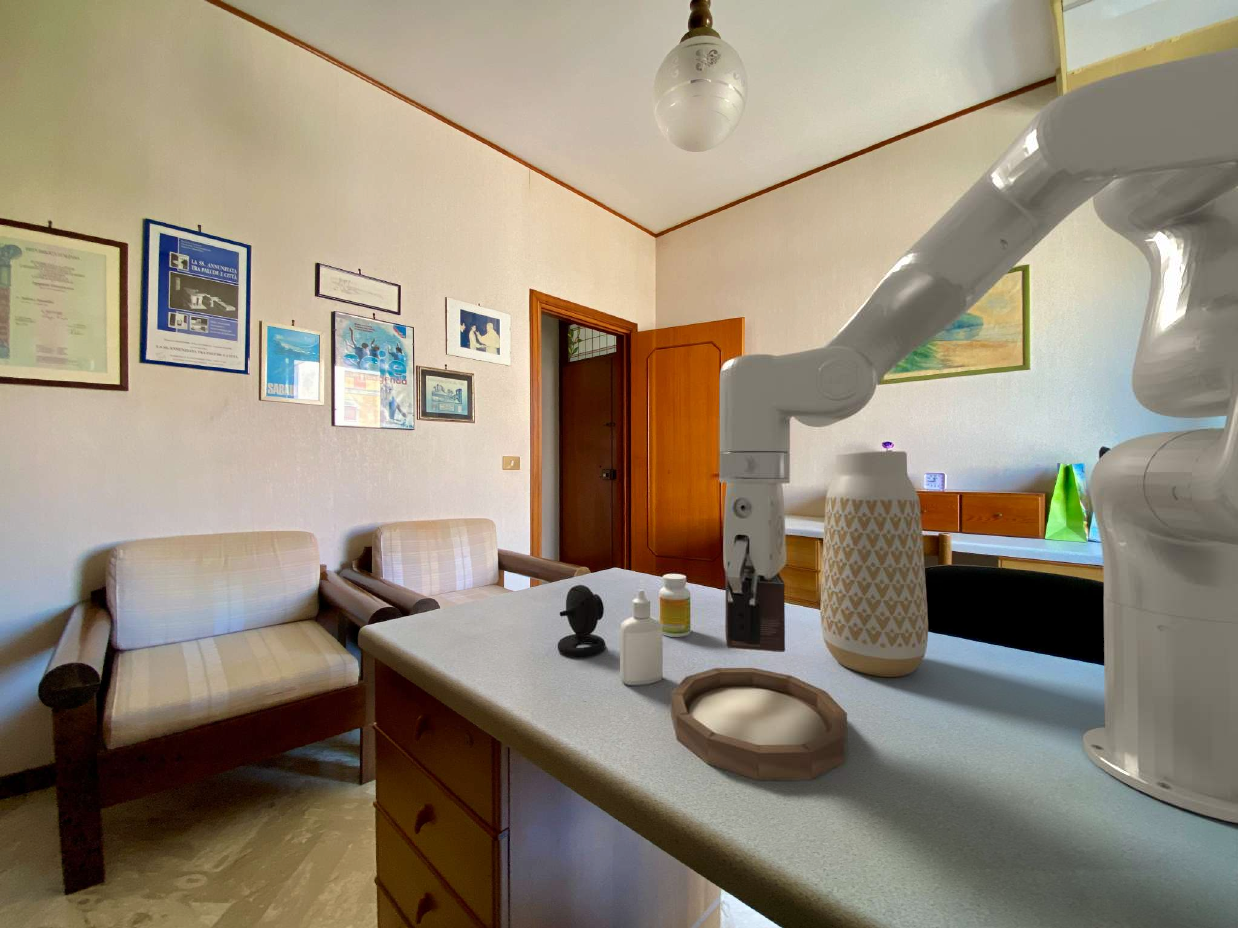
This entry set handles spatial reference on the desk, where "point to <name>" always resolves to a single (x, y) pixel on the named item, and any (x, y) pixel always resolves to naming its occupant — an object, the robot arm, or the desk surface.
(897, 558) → the vase
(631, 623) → the eye dropper bottle
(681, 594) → the supplement bottle
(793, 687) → the round tray
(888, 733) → the desk surface
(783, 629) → the box
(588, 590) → the webcam
